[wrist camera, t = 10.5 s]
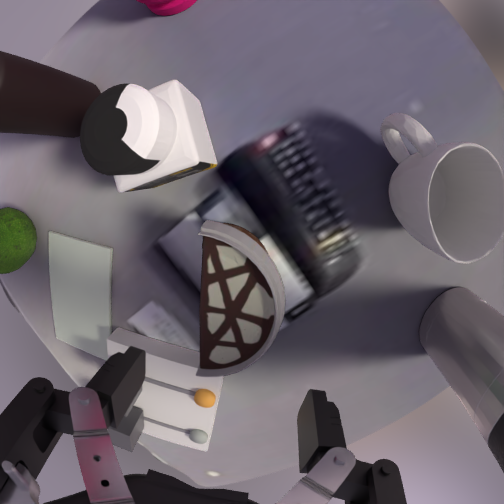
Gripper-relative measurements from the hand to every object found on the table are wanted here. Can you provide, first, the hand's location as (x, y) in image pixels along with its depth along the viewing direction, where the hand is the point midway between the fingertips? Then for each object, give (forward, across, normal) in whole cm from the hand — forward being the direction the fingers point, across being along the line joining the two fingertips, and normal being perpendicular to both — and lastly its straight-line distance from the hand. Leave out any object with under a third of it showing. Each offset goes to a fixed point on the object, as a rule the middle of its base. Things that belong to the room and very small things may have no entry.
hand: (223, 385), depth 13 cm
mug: (+17, -13, -13) cm, 25 cm away
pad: (+17, +20, +9) cm, 28 cm away
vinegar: (+17, +23, -14) cm, 32 cm away
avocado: (+17, +30, +2) cm, 35 cm away
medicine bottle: (+17, +10, -11) cm, 23 cm away
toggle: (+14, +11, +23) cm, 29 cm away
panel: (+17, +7, +19) cm, 26 cm away
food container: (+17, 0, 0) cm, 17 cm away
